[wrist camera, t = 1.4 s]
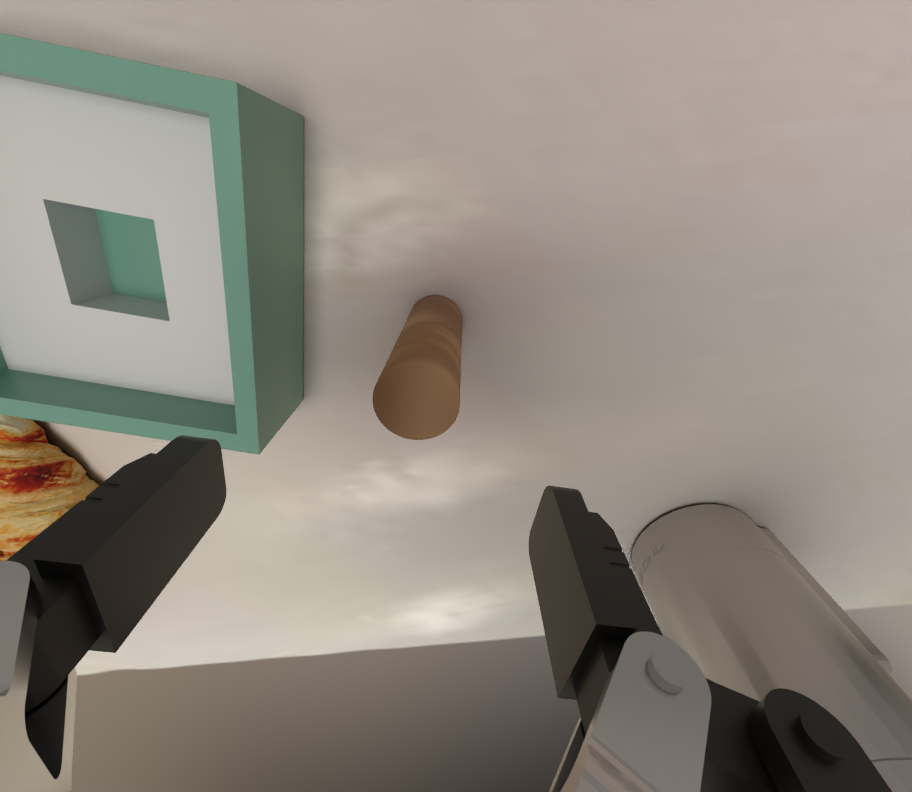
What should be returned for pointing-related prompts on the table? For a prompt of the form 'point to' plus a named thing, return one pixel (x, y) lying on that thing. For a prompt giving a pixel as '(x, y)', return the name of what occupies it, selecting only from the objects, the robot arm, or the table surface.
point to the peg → (423, 372)
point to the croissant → (34, 483)
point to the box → (148, 249)
